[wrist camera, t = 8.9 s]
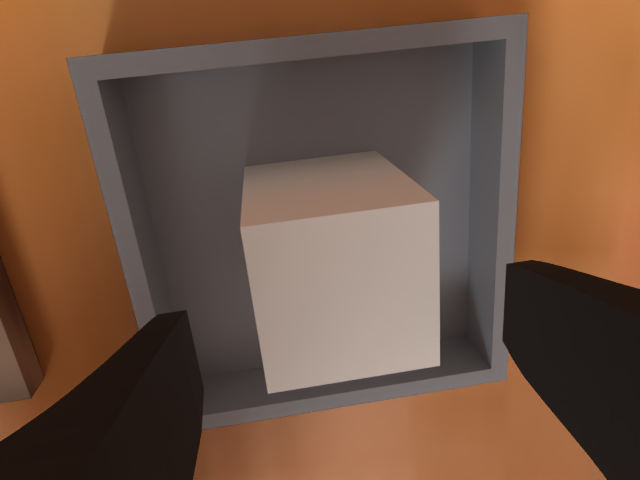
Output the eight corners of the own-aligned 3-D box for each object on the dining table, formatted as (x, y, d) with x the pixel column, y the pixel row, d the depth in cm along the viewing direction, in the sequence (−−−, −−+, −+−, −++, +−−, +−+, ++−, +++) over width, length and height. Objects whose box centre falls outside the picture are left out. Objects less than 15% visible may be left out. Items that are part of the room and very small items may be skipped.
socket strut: (375, 150, 16) (438, 200, 11) (382, 269, 18) (440, 365, 12) (244, 166, 16) (239, 227, 10) (263, 285, 18) (268, 393, 12)
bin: (472, 335, 21) (506, 380, 18) (179, 381, 19) (167, 435, 17) (480, 19, 16) (528, 13, 13) (100, 57, 15) (65, 58, 12)
